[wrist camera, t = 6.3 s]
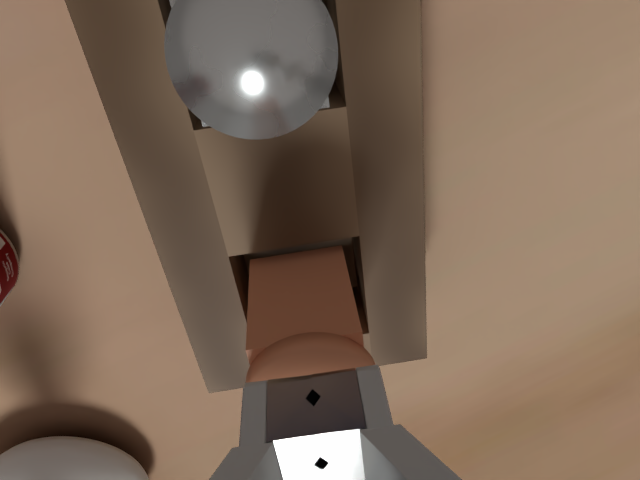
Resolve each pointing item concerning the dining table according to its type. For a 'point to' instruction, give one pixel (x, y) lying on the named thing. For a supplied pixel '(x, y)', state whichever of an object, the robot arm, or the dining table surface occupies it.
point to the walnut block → (275, 177)
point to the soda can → (7, 266)
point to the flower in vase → (68, 461)
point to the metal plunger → (251, 62)
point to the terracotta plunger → (302, 316)
